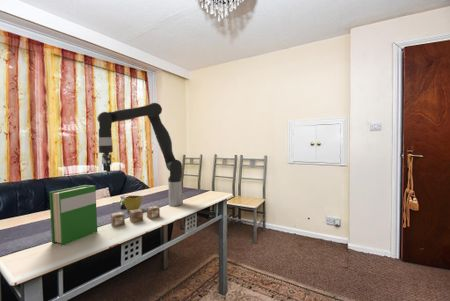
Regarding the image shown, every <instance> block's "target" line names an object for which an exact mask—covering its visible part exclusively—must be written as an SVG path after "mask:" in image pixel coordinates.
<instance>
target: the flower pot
mask: <svg viewBox="0 0 450 301" xmlns="http://www.w3.org/2000/svg"><path fill="white" fill-rule="evenodd" d="M142 198H143V196H142V195H129V196H126V197H125V198H123V201H124V206H125V208H126V210H127V211H129V212H130V210H135V209H140V207H141V206H142V205H141V204H142Z"/></svg>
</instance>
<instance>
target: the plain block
mask: <svg viewBox="0 0 450 301" xmlns="http://www.w3.org/2000/svg"><path fill="white" fill-rule="evenodd" d="M143 213H144V212H143V210H142V208H139V209H135V210H130V211H129V221H130V223H132V224H134V223H139V222H143V221H144V214H143Z"/></svg>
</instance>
